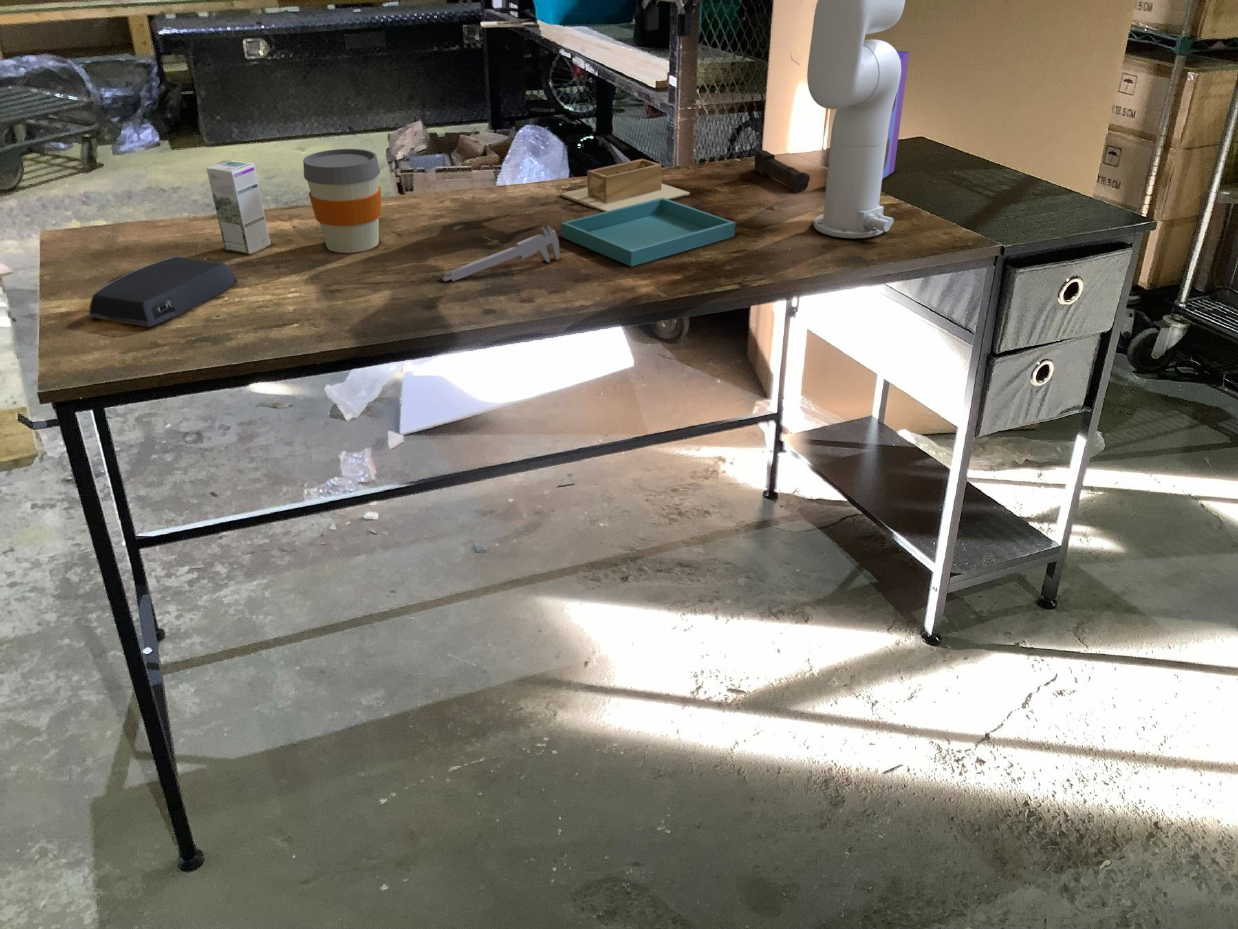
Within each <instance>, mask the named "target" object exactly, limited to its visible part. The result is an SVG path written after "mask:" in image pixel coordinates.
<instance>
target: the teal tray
mask: <svg viewBox="0 0 1238 929" xmlns="http://www.w3.org/2000/svg"><path fill="white" fill-rule="evenodd" d="M560 229H561V230H560V232H561V233H560V234H561V238H563V239H566V240H567V241H570V242H572V243H574V244H577V245H579V246H582V247H585V248H587V249H588V250H591V251H594V252H596V253H597V254H601V255H603V256H606V257H608V258H610V259H612V260H614V261H617V262H620V263H621V264H625V265H627V266H629V267H634V266H638V265H642V264H645V263H649V262H651V261H655V260H660V259H662V258H666V257H669V256H672V255H676V254H679V253H683V252H686V251H689V250H692V249H696V248H700V247H703V246H706V245H710V244H713V243H717V242H720V241H724V240H727V239H731V238H735V235H736V234H735V232H736V222H735V221H732V220H729V219H726V218H724V217H720V216H718V215H715V214H712V213H709V212H706V211H703V210H700V209H697V208H695V207H691V206H688V205H685V204H682V203H680V202H677V201H674V200H672V199H669V200H668V199H665V198H659V199H655V200H651V201H647V202H643V203H639V204H635V205H631V206H627V207H623V208H619V209H615V210H611V211H607V212H604V211H602V212H599V213H595V214H591V215H586V216H583V217H578V218H575V219H570V220H567V221H563V222H561V223H560Z"/></svg>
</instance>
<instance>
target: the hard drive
mask: <svg viewBox="0 0 1238 929" xmlns="http://www.w3.org/2000/svg"><path fill="white" fill-rule="evenodd" d="M238 281H239V280H238V279H237V277H236V275H235V274H234V273H233V271H232V270H231V268H230V267H229V266H228V265H227V264H226V263H223V262H215V261H208V260H201V259H196V258H195V259H194V258H189V257H183V256H177V255H176V256H175V255H174V256H171V257H167V258H165V259H162V260H159V261H156V262H153V263H149V264H147V265H145V266H142V267H140V268H138V269H135V270H133V271H131V272H128V273H126V274H124V275H122V276H120V277H119V278H117V279H114V280H113V281H111V282H109V283H108V284H106V285H104V286H103V287H101V288H99V289H98V290H97V291H95V292H94V293H93V294H92V296H91V298H90V302H89V308H88V317H90V318H95V319H100V320H106V321H112V322H118V323H124V324H129V325H135V326H140V327H146V328H151V327H154V326H157V325H159V324H162V323H163V322H166V321H168V320H171V319H172V318H176V317H177V316H180V315H181V314H183V313H185V312H188V311H190V310H192V309H193V308H196V307H198V306H199V305H201V304H203V303H205V302H207V301H208V300H210V299H212V298H214V297H215V296H218V295H220V294H221V293H223V292H225V291H226V290H228V289H229V288H231V287H232V286H235V285H236V284H237V283H238Z"/></svg>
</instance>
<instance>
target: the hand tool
mask: <svg viewBox="0 0 1238 929" xmlns="http://www.w3.org/2000/svg"><path fill="white" fill-rule="evenodd" d="M753 160H754V169H755V170H756V172H758V173H759V174H760V175H761V176H762V177H771V178H772V179H775V180H777V181H779V182H780V183H782V184H783V185H785V186H787V187H788V188H790V189H791V191H792V192H793V193H794V194H795V193H801V192H803V191H807V190H806V189H808V187H809V182H810V178H811V177H810V175H809V174H808V173H807V172H805V171H799V170H798V169H797V168H795V167H794V166H793V167H792V166H789V165H787V164H785V163H783V162H781V161H780V160H778V159H776V157H775V154H773V153H771V152H770V151H768V150H764V149H759V150H757V151H756V152H755V155H754V159H753Z"/></svg>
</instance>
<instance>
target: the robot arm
mask: <svg viewBox="0 0 1238 929" xmlns="http://www.w3.org/2000/svg"><path fill="white" fill-rule="evenodd" d="M660 1H662V2H669V3H675V5H676V7H677V9H678V11H679V13H677V18H676V19H677V20H676V36H677V37H679V38H683V37H688V36H692V31H693V14H694V13H695V10H696V8H697V6H698V4H699V0H641V6H642V8H643V9H644V12H643V14H644V16H643V17H644V18H643V19H644V20H643V21H644V22H643V28H644V31H646V32H650V31H657V30H659V26H660V25H659V24H660V21H659V20H660V19H659V17H660V16H659V15H660V9H659V8H660V7H658V4H659V2H660ZM905 2H906V0H817V1H816V4H815V10H814V15H813V23H812V30H811V37H810V38H811V39H810V44H809V53H808V62H807V71H806V72H807V73H806V75H807V76H806V79H807V81H806V82H807V87H808V91H809V94H810V97H811V98H812V100H813V101H814V102H815V103H816V104H817V105H818V106H820V107H822V108H824V109H827V110H836V111H835V113H834V116H833V121H832V126H831V133H830V140H829V141H830V143H829V150H828V151H829V153H828V162H827V163H828V164H827V173H826V182H825V183H826V184H825V194H824V204H823V213H822V214H819V215H817V216H816V217H815V218H814V220H813V227H814V229H815V230H816V231H818V232H819V233H820V234H824V235H825V236H830V237H834V238H840V239H841V238H842V239H867V238H873V237H877V236H879V235H881V234H883V233H887V232H888V231H890V229H891V227H892V225H893V224H894V221H895V220H894V217H890V216H887V215H884V209H885V206H884V205H880V200H881V191H882V184H883V180H882V176H883V168H884V160H885V152H886V144H887V138H888V130H889V123H890V117H891V112H892V107H893V104H894V100H895V97H896V93H897V90H898V86H899V82H900V78H901V62H900V58H899V55H898V53H897V51H896V50H897V49H895V47H894V46H892V44H890V43H889V42H887V41H884V40H881V39H874V38H873V39H872V38H871V39H865V38H866V35H871V34H876V33H880V32H885V31H887V30H889V29H891V28H892V27H894V26H895V25H896V24H897V23H898V22H899V21H900V20H901V17H902V14H903V13H904V8H905V5H906V3H905Z"/></svg>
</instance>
